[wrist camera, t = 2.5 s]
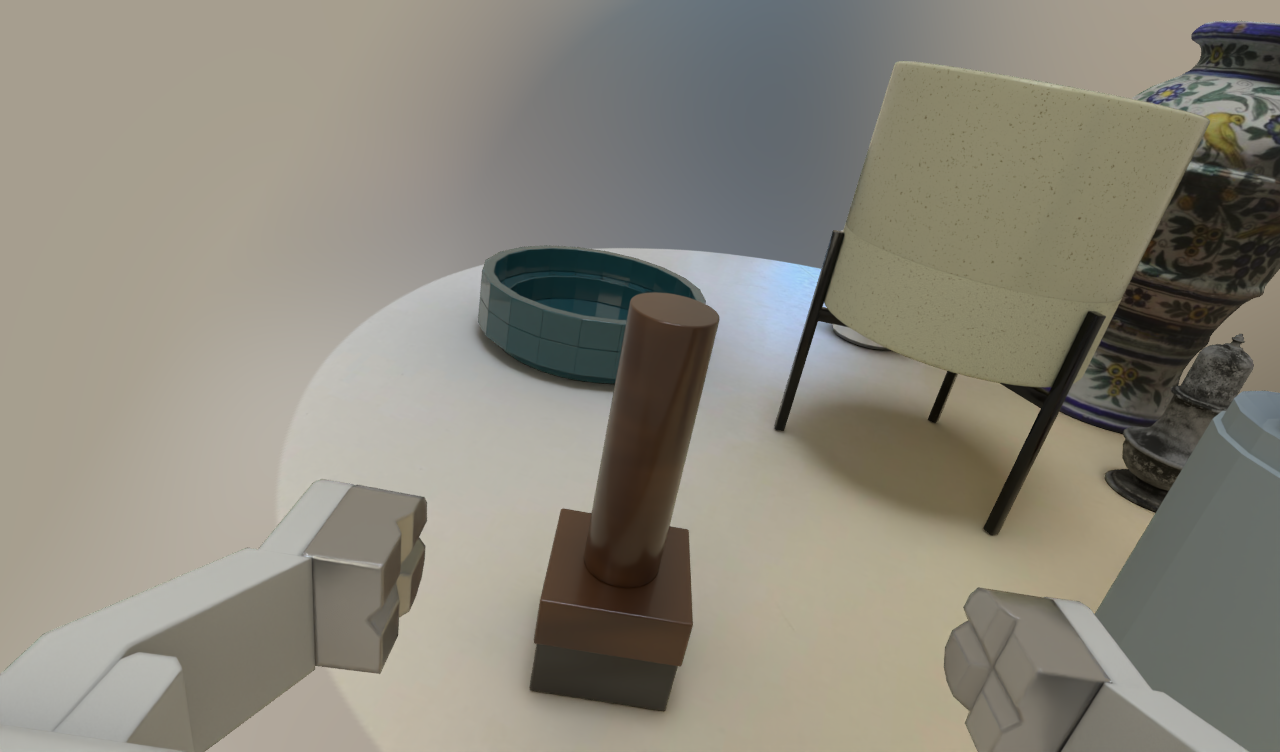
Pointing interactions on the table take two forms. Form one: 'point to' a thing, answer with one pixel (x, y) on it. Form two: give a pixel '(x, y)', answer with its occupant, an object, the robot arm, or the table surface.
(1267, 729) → the spray bottle
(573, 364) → the dish
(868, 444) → the table surface
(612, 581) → the post on square base
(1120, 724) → the robot arm
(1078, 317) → the planter
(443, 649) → the table surface
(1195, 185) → the vase
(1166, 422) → the salt shaker
